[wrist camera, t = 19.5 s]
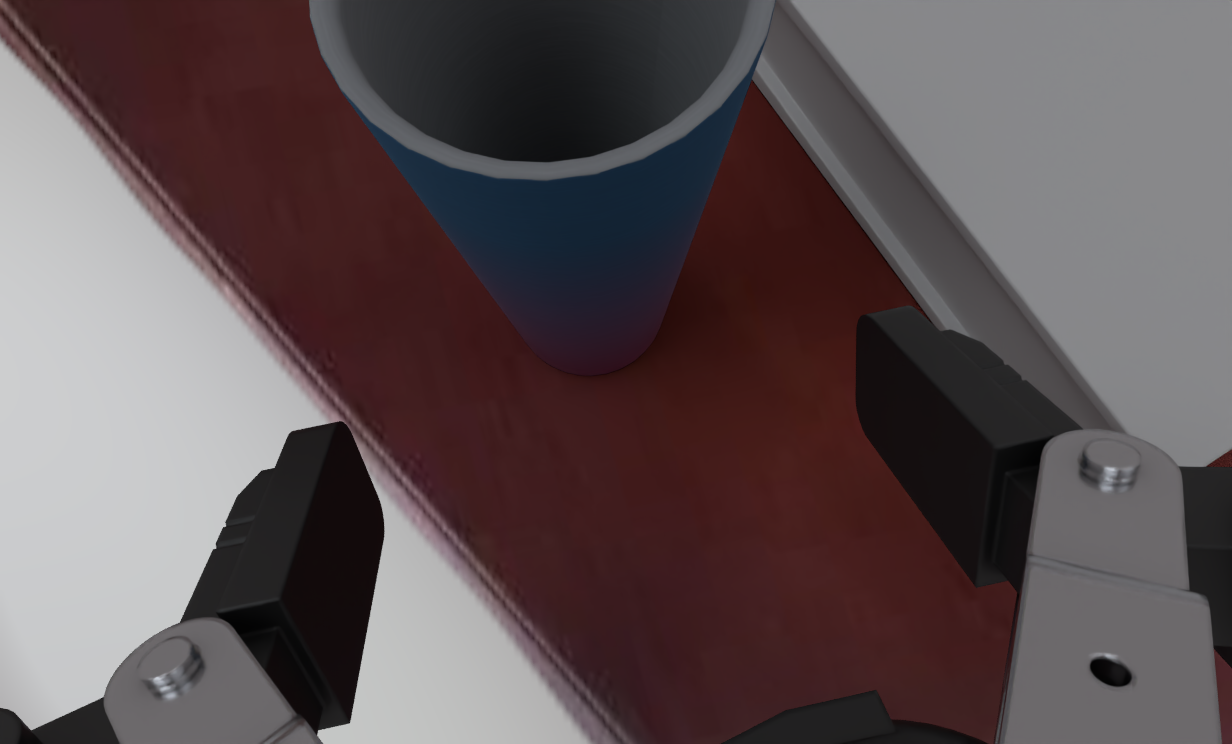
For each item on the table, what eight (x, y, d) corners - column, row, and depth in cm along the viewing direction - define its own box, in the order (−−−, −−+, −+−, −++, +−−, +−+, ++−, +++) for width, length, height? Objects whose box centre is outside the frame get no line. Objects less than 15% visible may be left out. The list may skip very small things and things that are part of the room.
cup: (594, 445, 19) (549, 279, 8) (447, 309, 20) (208, -21, 9) (732, 297, 20) (875, -50, 9) (585, 174, 21) (535, -290, 10)
